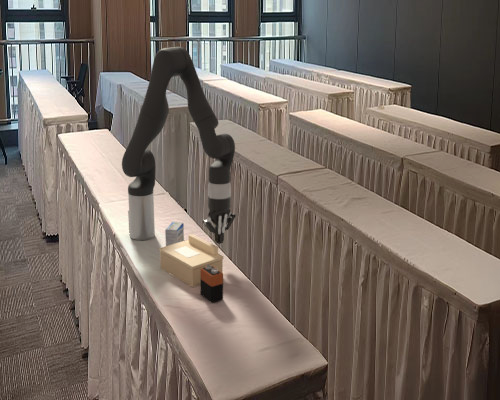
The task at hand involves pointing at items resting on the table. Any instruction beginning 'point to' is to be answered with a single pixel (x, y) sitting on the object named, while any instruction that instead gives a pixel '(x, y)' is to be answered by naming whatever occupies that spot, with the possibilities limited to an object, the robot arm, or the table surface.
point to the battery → (211, 284)
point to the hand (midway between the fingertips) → (219, 242)
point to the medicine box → (174, 233)
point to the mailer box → (185, 270)
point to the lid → (193, 252)
